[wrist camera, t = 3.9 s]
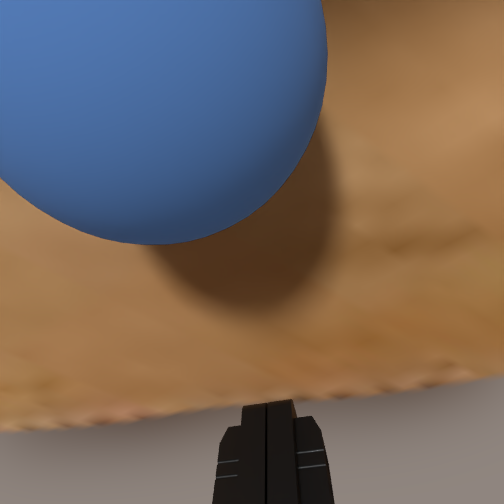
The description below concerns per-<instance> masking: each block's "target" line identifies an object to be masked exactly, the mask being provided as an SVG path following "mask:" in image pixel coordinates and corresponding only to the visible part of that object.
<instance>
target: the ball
mask: <svg viewBox="0 0 504 504" xmlns="http://www.w3.org/2000/svg"><path fill="white" fill-rule="evenodd" d="M327 55H328V52H327V38H326V25H325V19H324V14H323V9H322V4H321V0H0V178H1V179H2V180H3V181H5V182H6V183H7V184H8V185H9V186H10V187H11V188H12V189H13V190H15V191H16V192H17V193H18V194H19V195H20V196H22V197H23V198H24V199H26V200H27V201H28V202H30V203H31V204H33V205H34V206H35V207H37V208H38V209H40V210H41V211H43V212H45V213H47V214H48V215H50V216H52V217H53V218H55V219H57V220H59V221H60V222H62V223H64V224H66V225H69V226H71V227H73V228H75V229H77V230H80V231H82V232H85V233H88V234H91V235H94V236H97V237H100V238H103V239H108V240H112V241H117V242H122V243H132V244H141V245H163V244H175V243H182V242H188V241H192V240H196V239H200V238H203V237H207V236H209V235H212V234H214V233H217V232H219V231H221V230H224V229H226V228H228V227H231V226H232V225H234V224H236V223H238V222H239V221H241V220H243V219H245V218H246V217H248V216H249V215H251V214H252V213H253V212H255V211H256V210H257V209H258V208H260V207H261V206H262V205H264V204H265V203H266V202H267V201H268V200H269V199H270V198H271V197H272V196H273V195H274V194H275V193H276V192H277V191H278V190H279V189H280V188H281V186H282V185H283V184H284V182H285V181H286V180H287V179H288V177H289V176H290V175H291V173H292V172H293V171H294V169H295V167H296V166H297V164H298V162H299V161H300V159H301V157H302V156H303V154H304V152H305V151H306V149H307V146H308V144H309V142H310V139H311V137H312V135H313V132H314V130H315V128H316V124H317V121H318V117H319V114H320V111H321V107H322V103H323V97H324V91H325V85H326V77H327Z"/></svg>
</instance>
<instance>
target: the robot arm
mask: <svg viewBox="0 0 504 504" xmlns="http://www.w3.org/2000/svg"><path fill="white" fill-rule="evenodd" d="M212 504H334V496H333V490H332V484H331V476H330V470H329V463H328V459H327V455H326V450H325V446H324V441H323V437H322V432H321V429H320V428H319V427H318V425H317V423H316V422H315V420H314V419H313V417H312V416H307V417H299V418H297V415H296V411H295V408H294V404H293V400H292V399H289V400H282V401H275V402H268V404H267V403H261V404H254V405H247V406H243V409H242V420H241V426H233V427H228V429H227V431H226V432H225V434H224V436H223V438H222V440H221V442H220V445H219V455H218V465H217V469H216V480H215V485H214V493H213V502H212Z"/></svg>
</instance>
